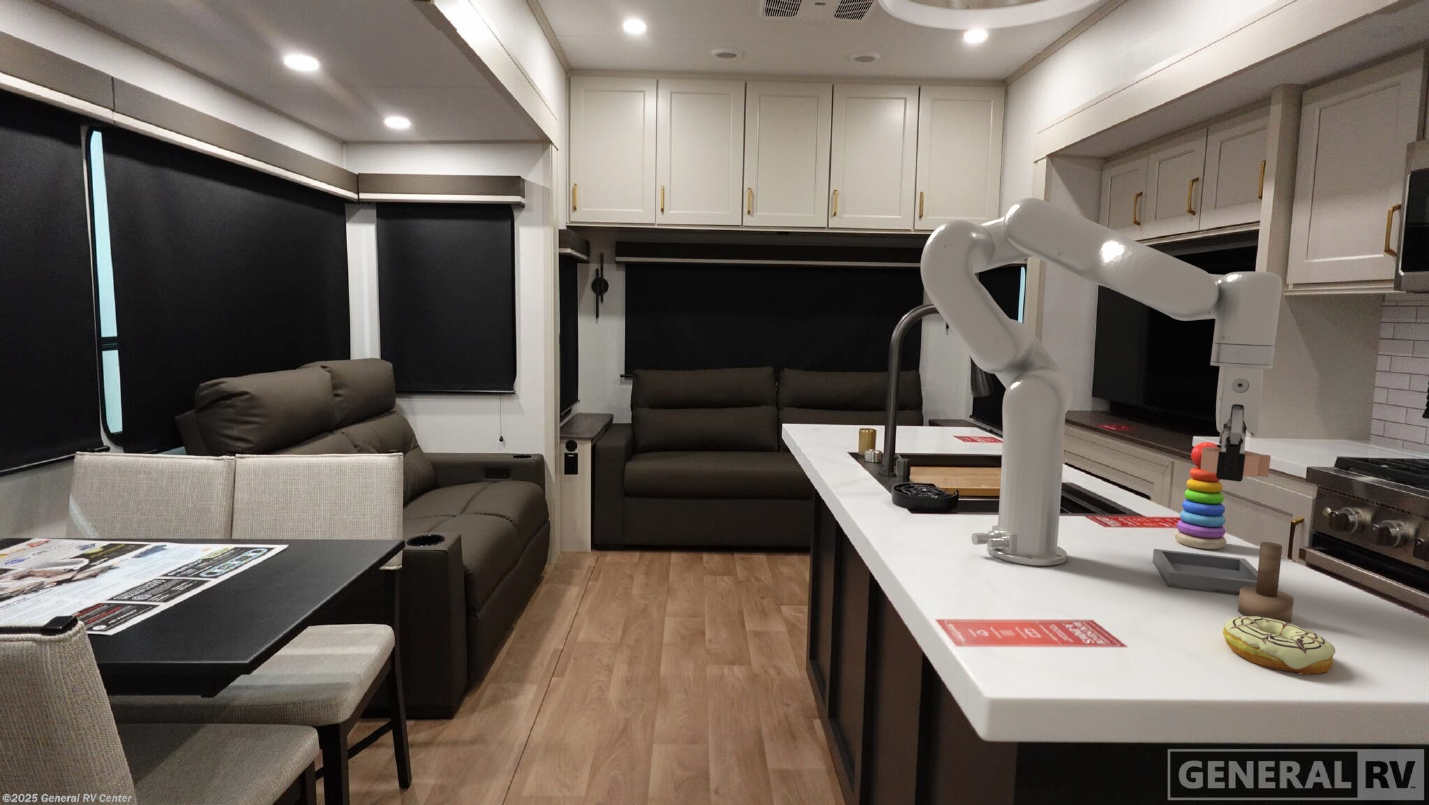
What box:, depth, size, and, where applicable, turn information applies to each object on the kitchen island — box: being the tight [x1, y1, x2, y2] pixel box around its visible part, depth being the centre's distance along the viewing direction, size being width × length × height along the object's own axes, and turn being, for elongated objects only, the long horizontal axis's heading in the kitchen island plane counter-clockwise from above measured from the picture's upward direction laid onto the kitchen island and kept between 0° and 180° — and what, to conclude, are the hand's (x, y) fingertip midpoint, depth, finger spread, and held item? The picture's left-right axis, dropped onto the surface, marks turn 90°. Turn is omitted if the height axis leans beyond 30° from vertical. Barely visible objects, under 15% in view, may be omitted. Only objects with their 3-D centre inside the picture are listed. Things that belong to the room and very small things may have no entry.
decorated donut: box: [1222, 615, 1336, 675], centre depth 92 cm, size 10×11×4 cm
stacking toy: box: [1174, 441, 1227, 550], centre depth 138 cm, size 8×8×19 cm
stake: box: [1237, 541, 1295, 624], centre depth 105 cm, size 6×6×10 cm
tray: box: [1152, 548, 1258, 596], centre depth 120 cm, size 13×13×2 cm
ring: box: [1201, 447, 1272, 478], centre depth 114 cm, size 7×8×3 cm
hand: (1227, 474), depth 114 cm, fingers closed on ring, 7 cm apart
